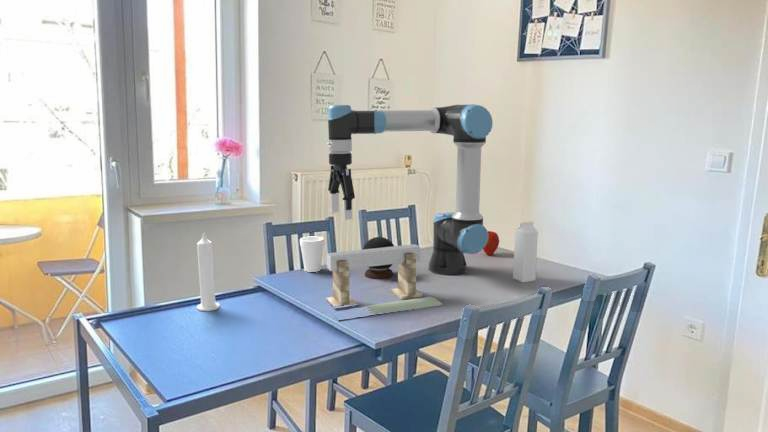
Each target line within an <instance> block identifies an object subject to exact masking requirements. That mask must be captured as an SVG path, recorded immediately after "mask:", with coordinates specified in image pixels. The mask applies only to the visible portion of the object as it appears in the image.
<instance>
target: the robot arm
mask: <svg viewBox="0 0 768 432" xmlns="http://www.w3.org/2000/svg"><path fill="white" fill-rule="evenodd" d="M327 125H328V126H327V128H328V142H327V143H326V144H327V146H328V151H329V152H330V153H329V154H328V163H329V165H330V175H329V181H328V187H327V188H328V191H329V193H330V213H332V214H333V213H335V214H336V213H340V196H339V195H340V189H339V188H340V187H341V190H342V191H341V192H342V194H343V198H342V201H343V205H342V206H343V220H344V221H346V220H353V199H355V197H356V194H355V191H354V189H355V188H354V185H353V179H352V169H351V168H348V165H351V164H352V162H353V160H352V158H353V156H352V153H351V152H352V151H353V145H352V144H353V143H352V142H353V141H352V135H355V134H356V135H357V134H359V135H360V134H361V135H364V134H366V135H367V134H368V135H370V134H371V135H377V134H383V133H384V132H385V133H387V132H428V131H429V132H430V133H432V134H441V135H443V134H444V135H449V136H453V144H454V145H455V147H457V153H456V154H457V155H456V156H457V157H456V158H457V159H456V190H455V192H456V195H455V196H456V198H455V212H454V211H453V212H441V213H440V212H439V213H436V214H434V217H433V223H432V224H433V242H432V243H433V245H432V246H433V247H432V248H433V250H432V253H431V256H430V259H429V262H428V270H429V271H430V272H431V273H434V274H439V275H449V276H451V275H460V274H463V273H465V272H467V270H468V268H467V267H468V265H467V262H466V261H467V260H466V258H465V255H464V254H468V255H474V254H475V255H476V254H478V253H480V252H481V251H482V250H483V248H484V247H485V246H486V244H487V241H488V231H489V230H487V228H486V227H485V226H484V216H483V215H482V214H481V213H480V200H481V199H480V197H481V196H480V195H481V166H482V147H483V146H485V144H486V142H487V141H486V140H487V136H488V135H489V133H491V131H492V129H493V117H492V114H491V112H490V111H489V110H488V109H487V108H486V107H485V106H483V105H480V104H474V103H471V104H452V105H447V106H441V107H440V106H439V107H431V108H430V109H428V110H427V109H425V110H424V109H423V110H418V109H417V110H416V109H413V110H406V109H405V110H404V109H403V110H399V109H398V110H396V109H395V110H354V109H353V110H352V106H351V104H350V105H349V104H331V105H329V107H328V111H327Z"/></svg>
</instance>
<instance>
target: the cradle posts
mask: <svg viewBox="0 0 768 432" xmlns="http://www.w3.org/2000/svg"><path fill="white" fill-rule="evenodd" d="M416 282H417V261H416V254H406V263H397V287H396V288H390V292H391V293H392V294H393V295H395V296H396V297H397V298H399V299H400V298H401V299H400V300H409V299H416V298H423V296H424V294H423V292H421V291H420V290H419V289H417V288H416V287H417V286H416V285H417V283H416ZM326 299H327V300H328V301H329V302H330V303H331V304H332V305H333V306H334V307H336V306H344V305H354V304H357V305H358V302H357V301H356V300H355V299H353V298H352V297H351V296H350V269H349V262H348V261H341V262H339V270H337V271H332V296H330V297H329V296H327V297H325V300H326Z"/></svg>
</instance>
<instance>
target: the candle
mask: <svg viewBox="0 0 768 432" xmlns="http://www.w3.org/2000/svg"><path fill="white" fill-rule="evenodd" d="M196 245H197V247H196V248H197V260H198V262H197V264H198V280H199V292H200V293H199V294H200V304H198V305H197V306H196V309H197V310H198V311H200V312H211V311H215V310H218V309H219V308H220V307H221V305H220V303H219V302H216V288H215V271H214V268H215V267H214V256H213V253H214V252H213V242H212V241H211V240H209V239H208V238H207V234H206V232H203V233H202V238H201V239H200V240H199V241H198V242H197V243H196Z"/></svg>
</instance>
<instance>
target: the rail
mask: <svg viewBox="0 0 768 432" xmlns="http://www.w3.org/2000/svg"><path fill="white" fill-rule="evenodd" d="M406 254H416V262H420V261H421V246H419V245H418V244H415V243H412V244H402V245H394V246H392V247H383V248H373V249H364V250H363V249H358V250H357V249H356V250H354V249H353V250H347V251H346V250H345V251H336V252H335V251H334V252H328V253H327V252H326V268H327V269H328V271H330V272H333V271H337V270H339V262H341V261H348V262H349V270H351V269H352V270H353V269H361V268H369V267H371V266H380V265H389V264H393V265H396V264H397V265H398V263H406Z"/></svg>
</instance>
